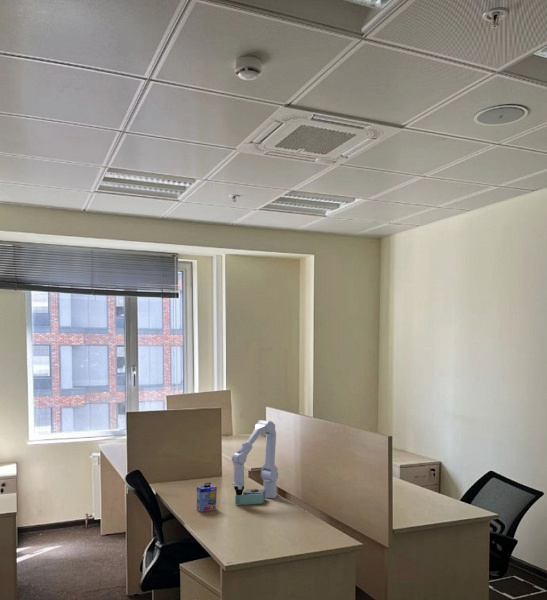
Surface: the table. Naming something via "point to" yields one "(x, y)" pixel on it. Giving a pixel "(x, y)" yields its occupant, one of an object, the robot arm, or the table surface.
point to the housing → (254, 492)
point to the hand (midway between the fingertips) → (239, 499)
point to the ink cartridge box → (206, 497)
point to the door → (249, 499)
